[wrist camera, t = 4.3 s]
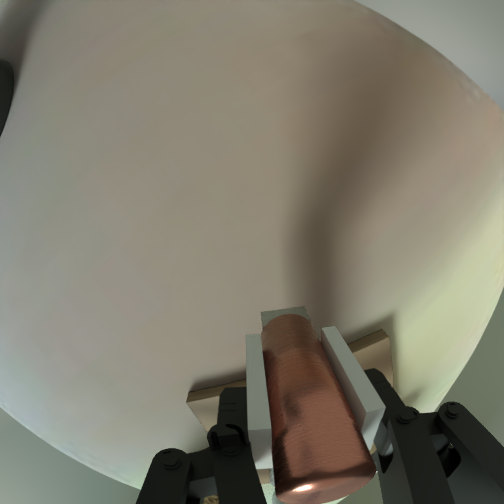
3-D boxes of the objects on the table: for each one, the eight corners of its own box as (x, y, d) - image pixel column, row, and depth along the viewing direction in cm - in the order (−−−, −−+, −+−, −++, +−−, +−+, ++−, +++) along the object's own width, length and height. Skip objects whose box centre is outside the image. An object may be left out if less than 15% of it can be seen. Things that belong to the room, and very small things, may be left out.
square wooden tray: (188, 392, 23) (178, 433, 18) (382, 329, 22) (410, 360, 17) (252, 477, 27) (253, 508, 22) (390, 433, 26) (405, 462, 21)
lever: (314, 468, 22) (334, 557, 10) (270, 475, 22) (278, 566, 10) (318, 294, 17) (409, 439, 5) (243, 304, 17) (242, 475, 5)
